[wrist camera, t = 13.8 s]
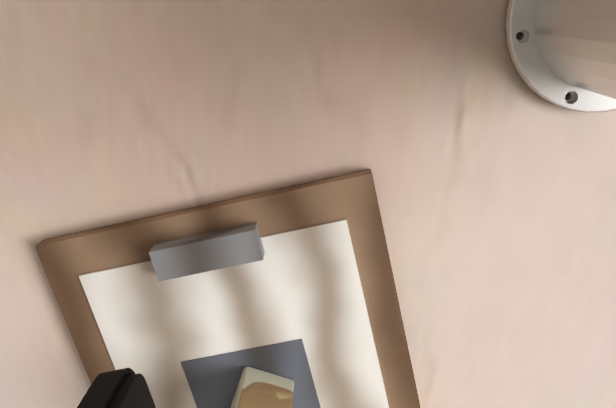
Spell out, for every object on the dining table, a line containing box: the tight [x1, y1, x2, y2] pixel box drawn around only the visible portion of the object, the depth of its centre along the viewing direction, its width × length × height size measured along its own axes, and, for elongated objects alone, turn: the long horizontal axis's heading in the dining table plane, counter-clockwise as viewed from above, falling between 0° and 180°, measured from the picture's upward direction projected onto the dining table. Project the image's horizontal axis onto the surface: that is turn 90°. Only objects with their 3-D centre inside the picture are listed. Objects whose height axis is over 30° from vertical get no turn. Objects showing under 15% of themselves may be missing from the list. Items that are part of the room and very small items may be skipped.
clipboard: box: [35, 169, 420, 408], centre depth 48 cm, size 26×34×3 cm
